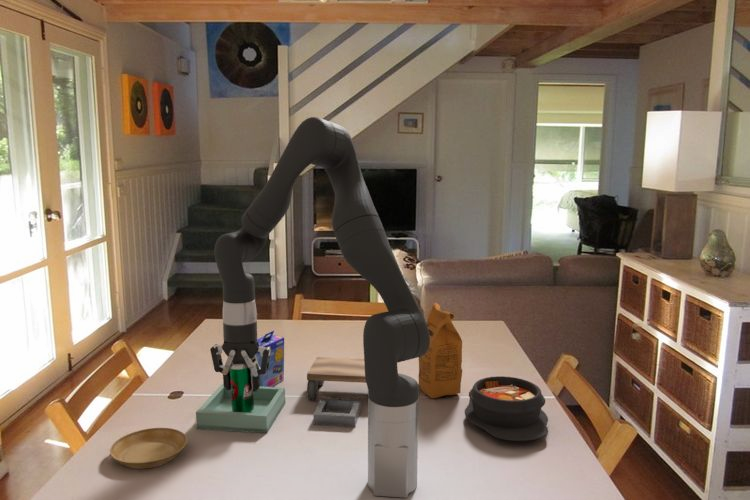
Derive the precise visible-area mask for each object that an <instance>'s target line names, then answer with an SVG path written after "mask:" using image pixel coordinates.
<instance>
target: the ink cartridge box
mask: <svg viewBox="0 0 750 500" xmlns="http://www.w3.org/2000/svg"><path fill="white" fill-rule="evenodd" d="M274 332H275V330H272V331H270V332H268V333H265V335H263V336H261V337H260V338H257V341H258V344H259V346H261V347H268V346H270V347H271V355H270V362H269V369H268V370H267V371H266V373H265V374H261V375H260V381H261V382H260V383H261V385H260V386H263V387H275V386H276V385H278V384H280V383H282V382H284V380H285V337H284V336H280V335H276V334H274ZM255 356H256V358H257V360H258V365H259V367H260V368H261V364H262V357H261V355H260V352H259V351H258V352H257V353H256V355H255ZM252 376H253V374H252Z"/></svg>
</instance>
